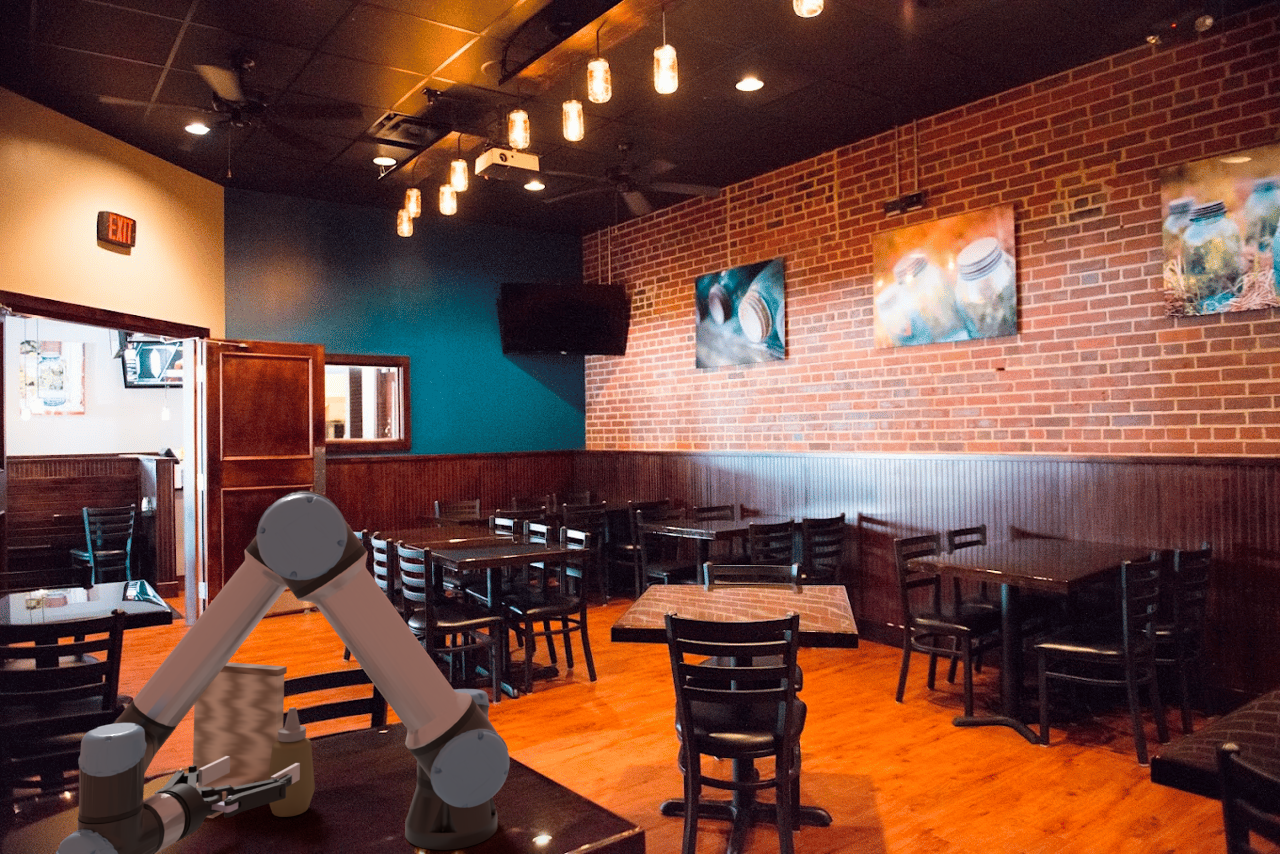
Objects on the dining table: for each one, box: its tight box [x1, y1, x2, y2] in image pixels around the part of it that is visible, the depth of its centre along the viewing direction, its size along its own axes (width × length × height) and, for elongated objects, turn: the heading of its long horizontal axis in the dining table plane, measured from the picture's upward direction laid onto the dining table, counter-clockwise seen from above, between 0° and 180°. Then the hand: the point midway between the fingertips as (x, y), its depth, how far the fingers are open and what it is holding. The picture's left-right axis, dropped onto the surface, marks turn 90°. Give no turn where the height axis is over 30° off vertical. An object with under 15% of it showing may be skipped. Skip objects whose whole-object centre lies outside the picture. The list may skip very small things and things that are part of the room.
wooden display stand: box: [192, 661, 288, 819], centre depth 157 cm, size 19×13×23 cm
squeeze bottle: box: [268, 706, 316, 818], centre depth 152 cm, size 8×8×18 cm
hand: (262, 767), depth 145 cm, fingers open, 13 cm apart
